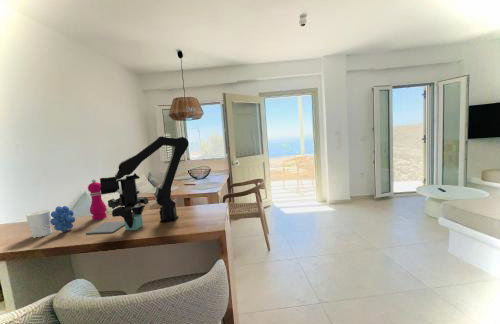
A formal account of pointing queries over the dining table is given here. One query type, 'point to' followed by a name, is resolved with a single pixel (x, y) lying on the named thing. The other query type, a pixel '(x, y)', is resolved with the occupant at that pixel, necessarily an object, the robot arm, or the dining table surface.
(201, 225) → the dining table surface
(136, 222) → the teal block
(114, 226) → the gray mat
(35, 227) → the white cup
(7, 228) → the dining table surface
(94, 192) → the pepper mill
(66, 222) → the grapes
